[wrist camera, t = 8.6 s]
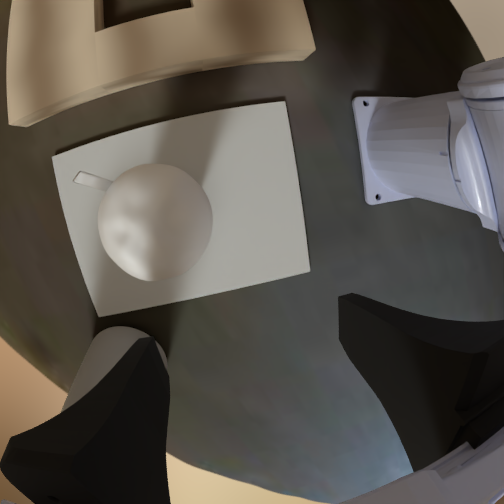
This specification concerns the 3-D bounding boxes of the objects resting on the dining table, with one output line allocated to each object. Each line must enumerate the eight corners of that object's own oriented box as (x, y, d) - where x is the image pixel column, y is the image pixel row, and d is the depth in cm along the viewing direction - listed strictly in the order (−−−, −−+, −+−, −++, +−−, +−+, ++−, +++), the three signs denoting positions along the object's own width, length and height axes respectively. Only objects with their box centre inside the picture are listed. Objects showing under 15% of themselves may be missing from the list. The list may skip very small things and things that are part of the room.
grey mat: (283, 102, 18) (284, 101, 18) (308, 269, 22) (310, 271, 22) (54, 156, 17) (52, 157, 16) (100, 314, 21) (98, 317, 20)
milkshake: (161, 140, 18) (119, 118, 8) (223, 195, 19) (244, 229, 10) (115, 194, 18) (42, 228, 9) (176, 247, 20) (156, 324, 10)
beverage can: (84, 321, 20) (24, 436, 9) (162, 319, 22) (142, 451, 10) (103, 383, 22) (73, 496, 11) (174, 383, 23) (171, 507, 12)
